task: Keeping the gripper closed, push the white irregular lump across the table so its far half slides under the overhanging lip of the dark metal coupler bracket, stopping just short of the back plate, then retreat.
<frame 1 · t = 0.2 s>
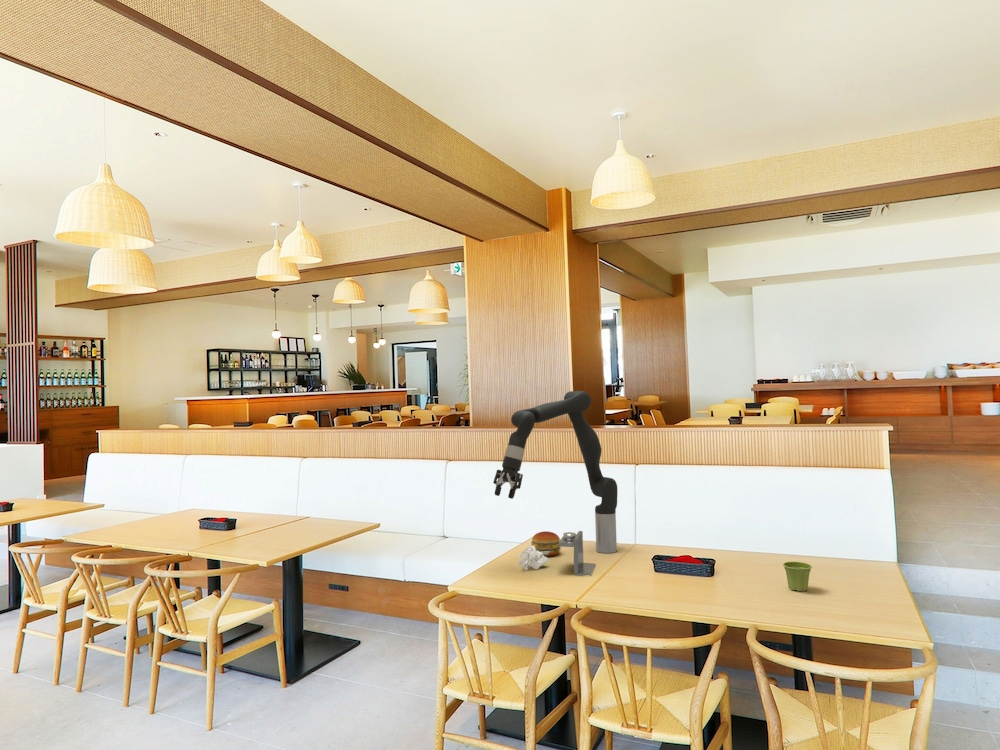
hand: (503, 496, 260), 31 cm above the table, tool tilted 20°, fingers open, 8 cm apart
white irregular lump: (533, 567, 267), on the table
plant pot: (798, 590, 230), on the table
coupler bracket: (578, 569, 262), on the table
burger: (545, 554, 288), on the table
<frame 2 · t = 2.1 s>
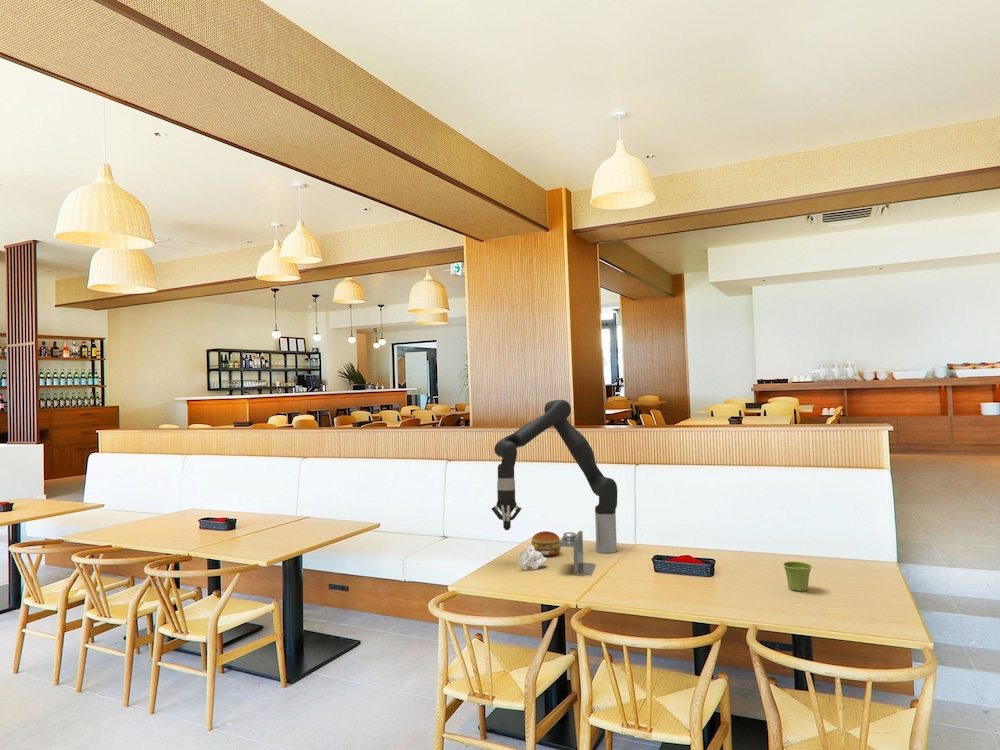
hand: (507, 529, 271), 15 cm above the table, tool pointing down, fingers closed
nothing on the table moved.
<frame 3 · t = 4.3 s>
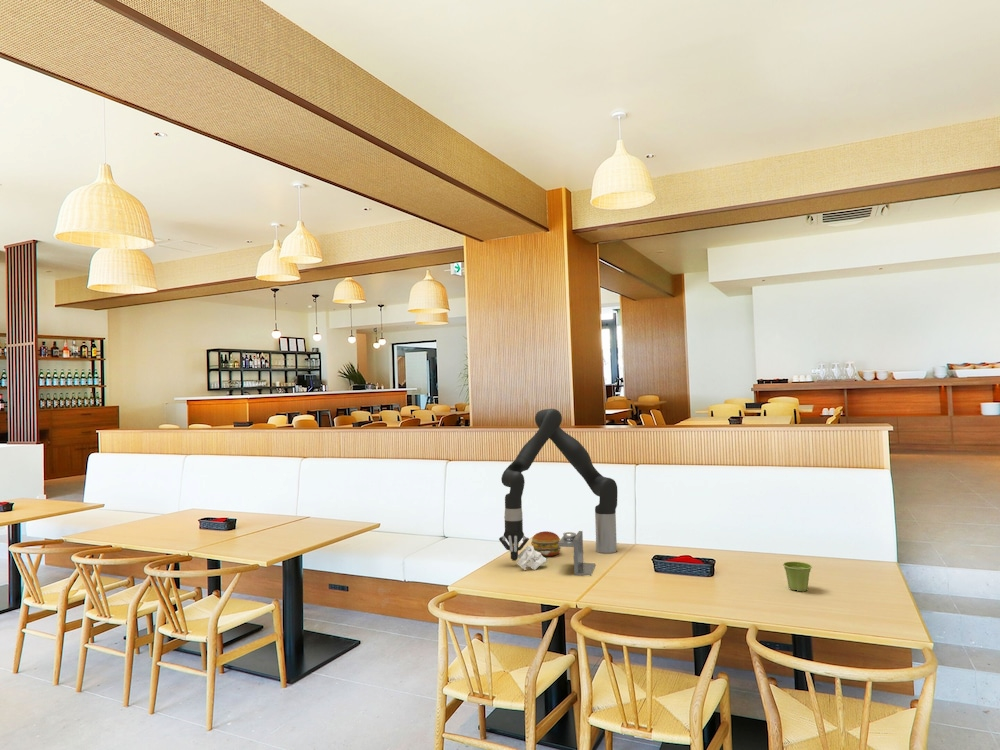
hand: (514, 560, 270), 2 cm above the table, tool pointing down, fingers closed
white irregular lump: (531, 568, 267), on the table, touching gripper
everything else where it was.
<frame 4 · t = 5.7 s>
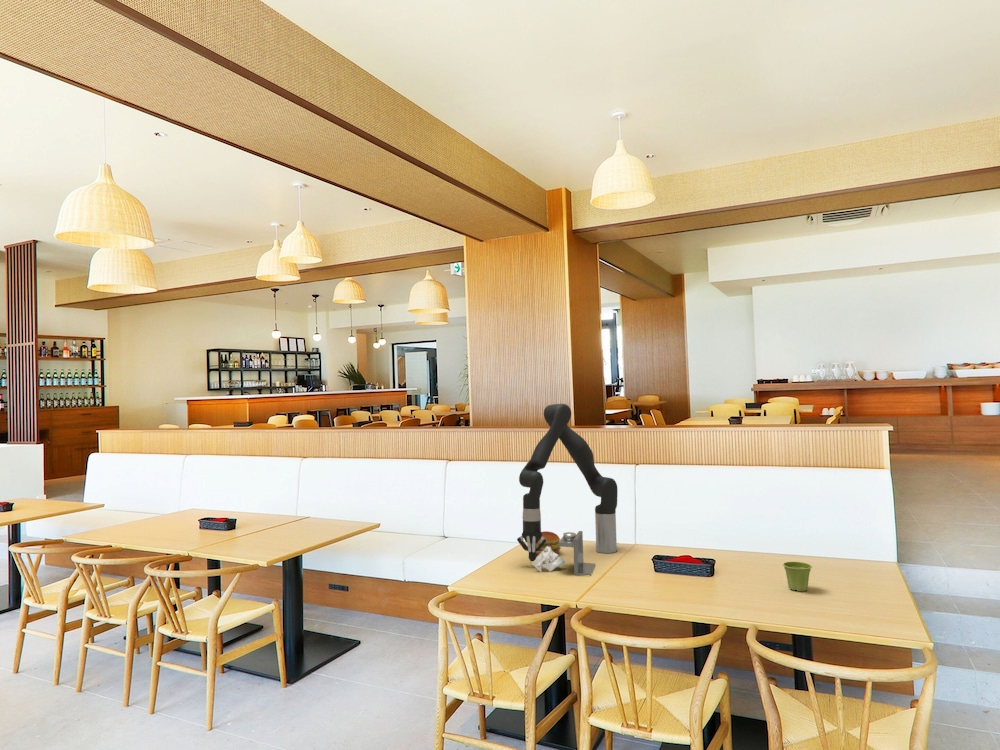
hand: (532, 560, 268), 3 cm above the table, tool pointing down, fingers closed
white irregular lump: (549, 569, 264), on the table, touching gripper
everything else where it was.
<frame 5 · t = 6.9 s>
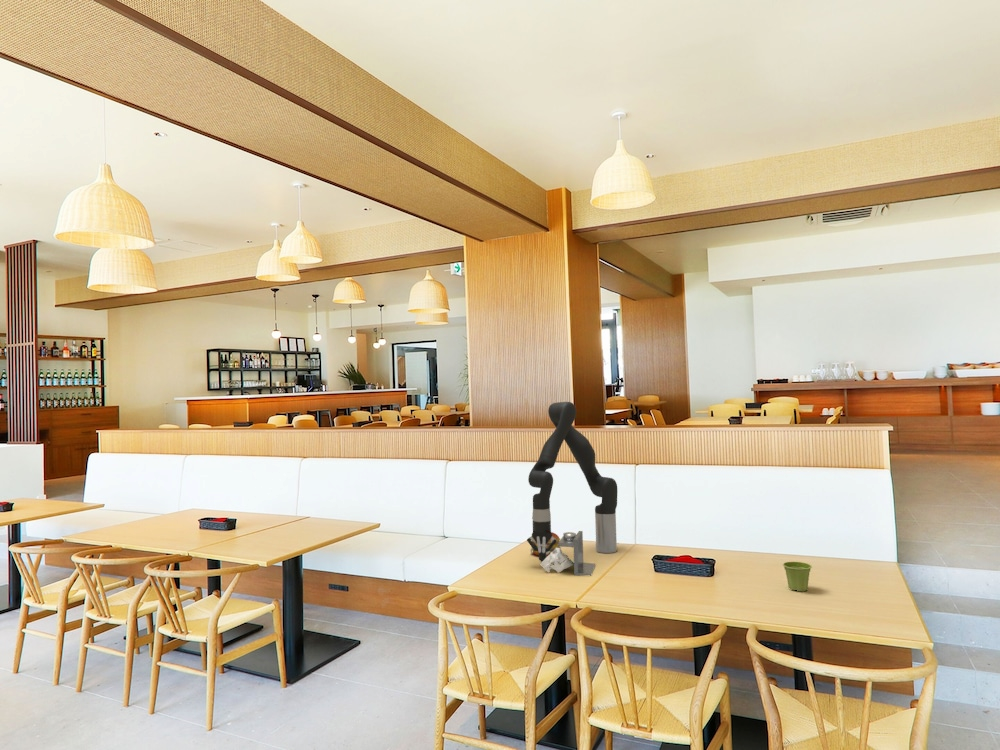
hand: (542, 561, 266), 3 cm above the table, tool pointing down, fingers closed
white irregular lump: (558, 570, 262), on the table, touching gripper
everything else where it was.
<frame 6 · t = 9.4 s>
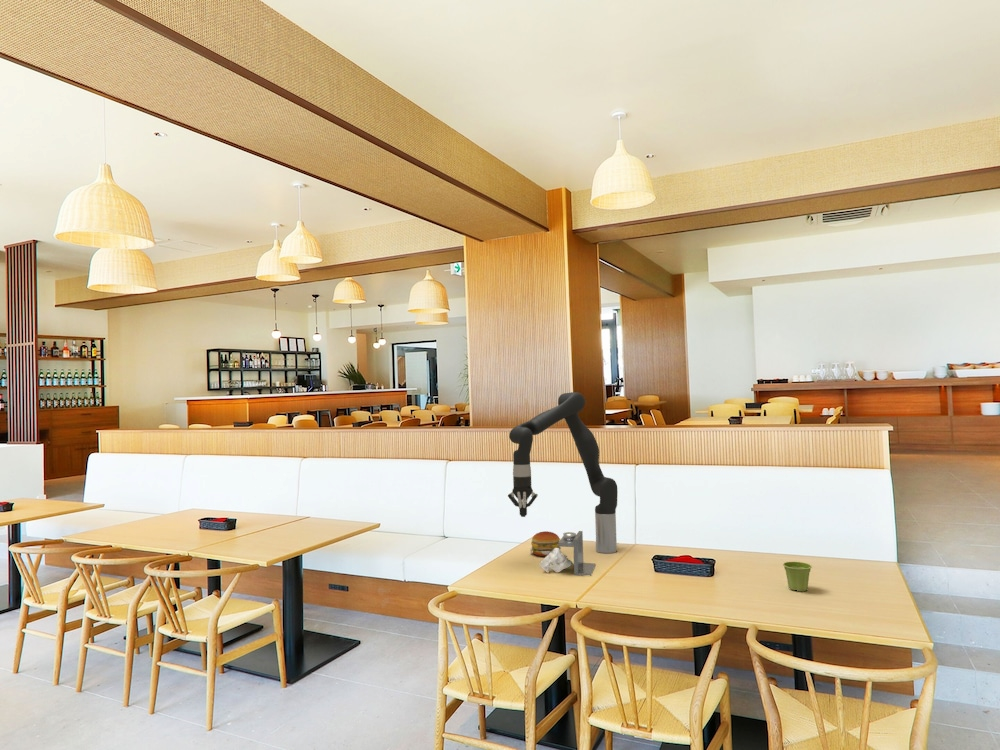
hand: (523, 516, 269), 21 cm above the table, tool pointing down, fingers closed
white irregular lump: (557, 570, 262), on the table
everything else where it was.
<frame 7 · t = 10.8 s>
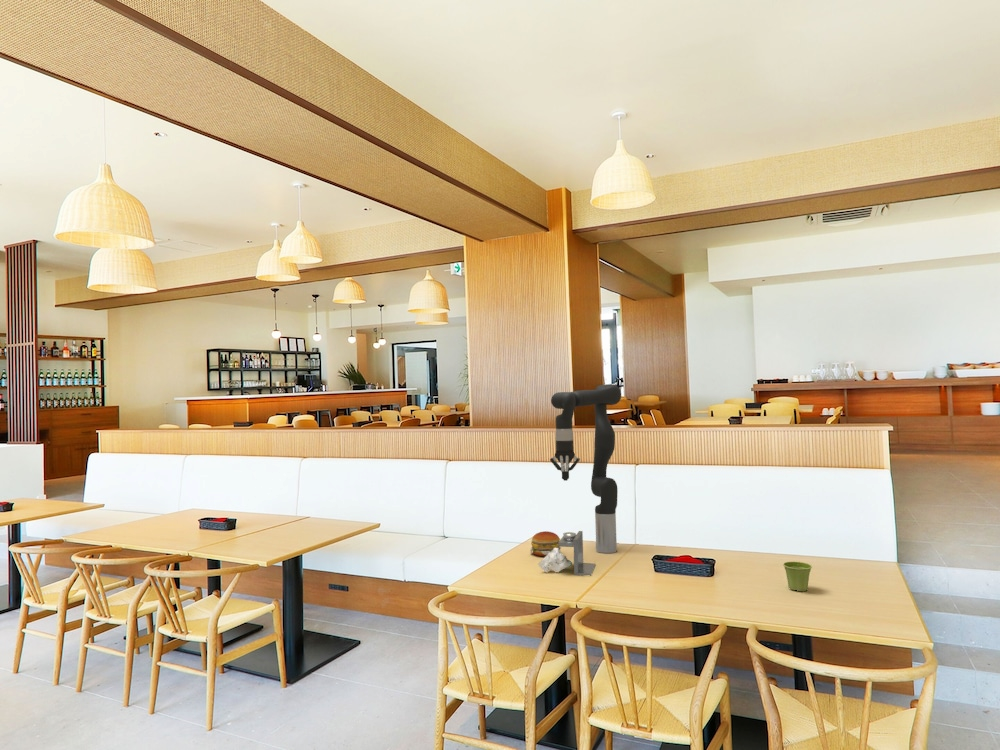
hand: (565, 480, 273), 35 cm above the table, tool pointing down, fingers closed
nothing on the table moved.
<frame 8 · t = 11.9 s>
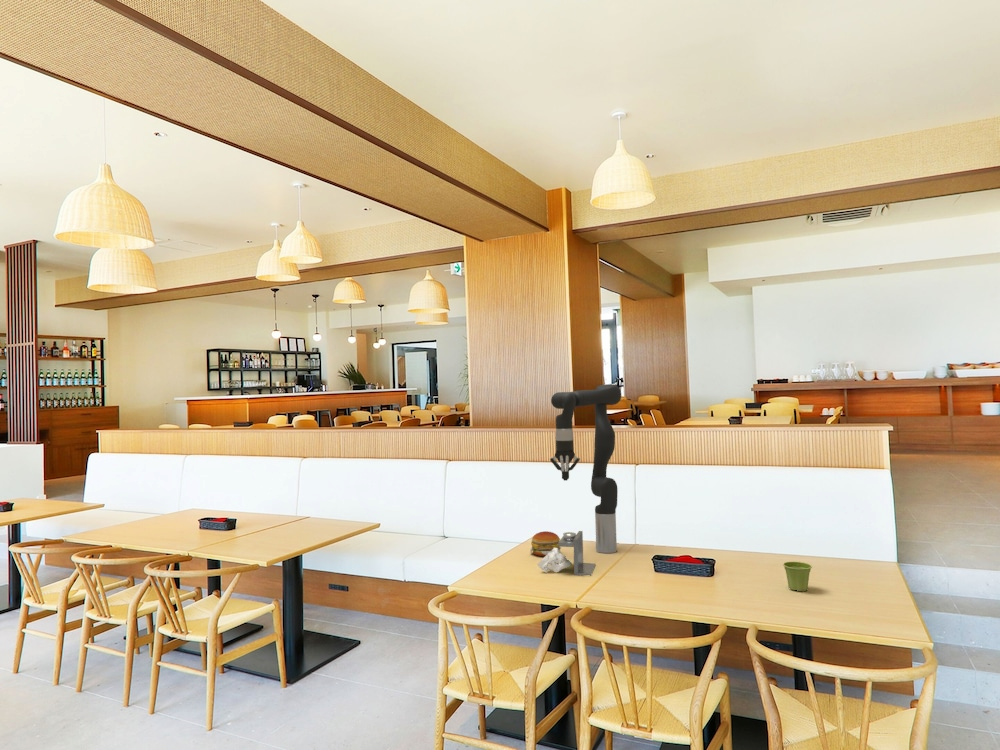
hand: (565, 480, 273), 35 cm above the table, tool pointing down, fingers closed
nothing on the table moved.
at the end: white irregular lump inside the target area (3.1 cm from its centre), on the table; white irregular lump tilted 0°; white irregular lump moved 10.4 cm from its start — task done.
